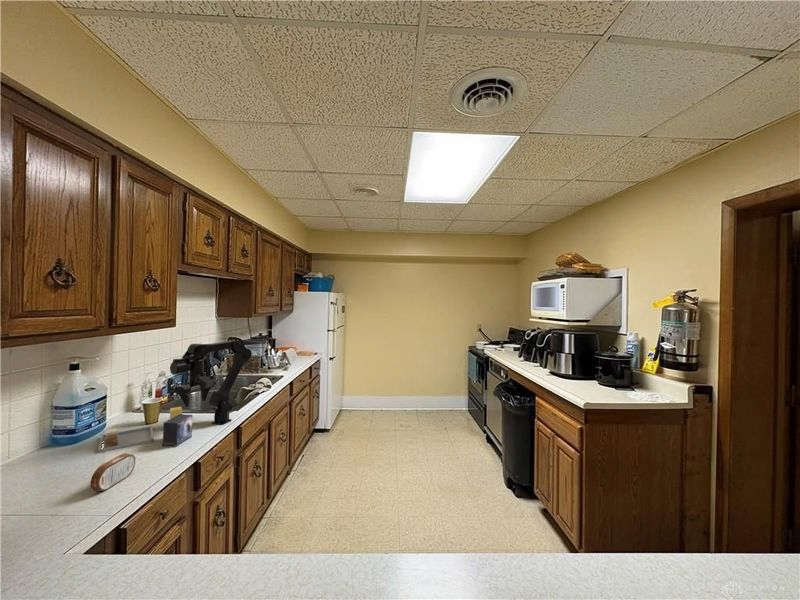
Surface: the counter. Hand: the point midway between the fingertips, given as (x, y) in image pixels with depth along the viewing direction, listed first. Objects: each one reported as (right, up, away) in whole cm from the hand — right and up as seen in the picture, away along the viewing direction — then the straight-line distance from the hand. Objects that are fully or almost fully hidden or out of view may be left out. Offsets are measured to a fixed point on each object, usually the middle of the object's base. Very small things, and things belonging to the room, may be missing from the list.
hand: (195, 403), depth 158 cm
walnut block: (-25, -12, -17) cm, 33 cm away
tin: (0, -14, -45) cm, 46 cm away
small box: (-1, -13, -12) cm, 18 cm away
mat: (-13, -13, +5) cm, 18 cm away
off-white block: (-29, -12, -12) cm, 34 cm away
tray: (-23, -13, -12) cm, 29 cm away
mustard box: (-13, -12, +5) cm, 18 cm away
